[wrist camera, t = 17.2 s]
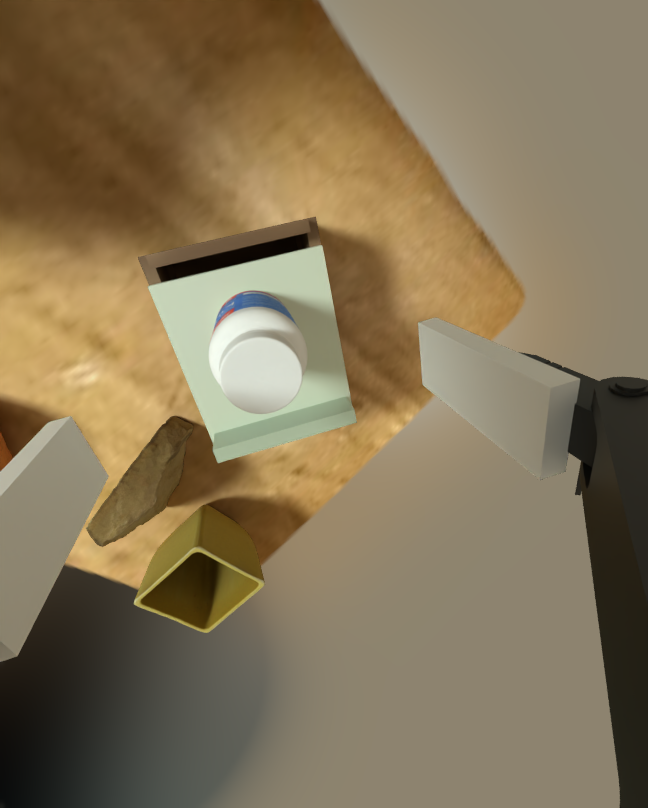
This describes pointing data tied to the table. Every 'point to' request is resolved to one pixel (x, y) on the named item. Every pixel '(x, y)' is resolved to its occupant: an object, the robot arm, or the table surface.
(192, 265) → the box
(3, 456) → the potato
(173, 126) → the table surface
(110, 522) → the rock
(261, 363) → the pill bottle
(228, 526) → the flower pot
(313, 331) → the lid
